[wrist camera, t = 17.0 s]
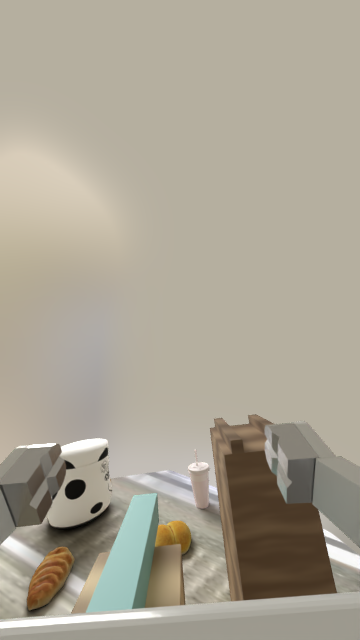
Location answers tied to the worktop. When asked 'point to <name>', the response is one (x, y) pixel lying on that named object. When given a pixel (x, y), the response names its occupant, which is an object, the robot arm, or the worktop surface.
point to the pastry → (49, 577)
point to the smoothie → (200, 482)
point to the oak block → (162, 581)
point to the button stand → (264, 522)
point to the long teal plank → (129, 559)
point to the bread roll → (174, 535)
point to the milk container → (82, 485)
